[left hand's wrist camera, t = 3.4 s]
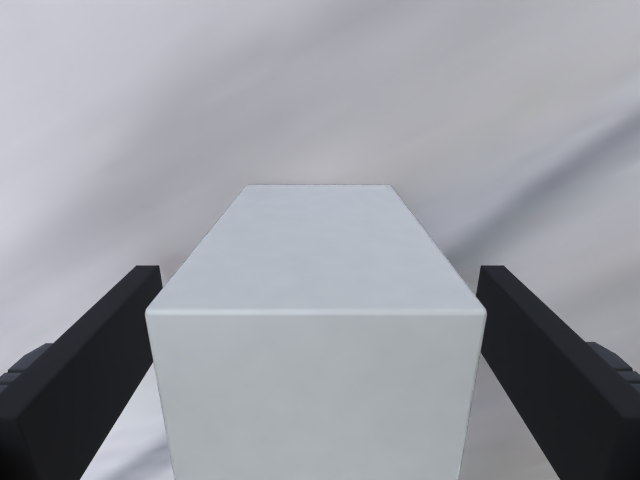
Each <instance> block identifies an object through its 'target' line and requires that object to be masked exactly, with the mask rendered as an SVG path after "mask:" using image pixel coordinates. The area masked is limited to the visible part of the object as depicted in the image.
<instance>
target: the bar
mask: <svg viewBox="0 0 640 480" xmlns="http://www.w3.org/2000/svg"><path fill="white" fill-rule="evenodd" d="M486 317H487V312H486V309H485V308H484V306H483V305H482V304H481V302H480V301H479V300H478V298H477V297H476V296H475V294H474V293H473V292H472V291H471V289H470V288H469V287H468V285H467V284H466V283H465V281H464V280H463V279H462V278H461V276H460V275H459V274H458V272H457V271H456V270H455V268H454V267H453V266H452V265H451V263H450V262H449V261H448V259H447V258H446V257H445V255H444V254H443V253H442V252H441V250H440V249H439V248H438V246H437V245H436V244H435V242H434V241H433V240H432V239H431V237H430V236H429V235H428V233H427V232H426V231H425V229H424V228H423V227H422V226H421V224H420V223H419V222H418V220H417V219H416V218H415V216H414V215H413V214H412V213H411V211H410V210H409V209H408V207H407V206H406V205H405V203H404V202H403V201H402V200H401V198H400V197H399V196H398V194H397V193H396V192H395V190H394V189H393V188H392V187H391V186H390V185H246V186H245V188H244V189H243V190H242V191H241V193H240V194H239V195H238V196H237V198H236V199H235V200H234V201H233V202H232V204H231V205H230V206H229V207H228V209H227V210H226V211H225V212H224V214H223V215H222V216H221V217H220V218H219V220H218V221H217V222H216V223H215V225H214V226H213V227H212V228H211V230H210V231H209V232H208V233H207V235H206V236H205V237H204V238H203V239H202V241H201V242H200V243H199V244H198V246H197V247H196V248H195V249H194V251H193V252H192V253H191V254H190V255H189V257H188V258H187V259H186V260H185V262H184V263H183V264H182V265H181V267H180V268H179V269H178V270H177V271H176V273H175V274H174V275H173V276H172V278H171V279H170V280H169V281H168V283H167V284H166V285H165V286H164V287H163V289H162V290H161V291H160V292H159V294H158V295H157V296H156V297H155V299H154V300H153V301H152V302H151V304H150V305H149V306H148V307H147V308H146V311H145V318H146V323H147V329H148V334H149V340H150V346H151V351H152V357H153V362H154V368H155V373H156V379H157V384H158V390H159V395H160V401H161V406H162V412H163V417H164V423H165V428H166V434H167V439H168V445H169V450H170V456H171V461H172V467H173V472H174V478H175V480H458V479H459V473H460V467H461V462H462V456H463V450H464V444H465V439H466V433H467V427H468V421H469V415H470V410H471V404H472V398H473V392H474V386H475V381H476V375H477V369H478V363H479V357H480V352H481V346H482V340H483V334H484V329H485V323H486Z"/></svg>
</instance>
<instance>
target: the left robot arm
mask: <svg viewBox="0 0 640 480" xmlns="http://www.w3.org/2000/svg"><path fill="white" fill-rule="evenodd" d="M162 289H163V287H162V281H161V275H160V268H159V266H136V267H134V268H133V269H132V270H131V271H130V272H129V273H128V274H127V275H126V276H125V277H124V278H123V279H122V280H121V281H119V282H118V283H117V284H116V285H115V286H114V287H113V288H112V289H111V290H110V291H109V292H108V293H107V294H106V295H105V296H103V297H102V298H101V299H100V300H99V301H98V302H97V303H96V304H95V305H94V306H93V307H92V308H91V309H90V310H88V311H87V312H86V313H85V314H84V315H83V316H82V317H81V318H80V319H79V320H78V321H77V322H76V323H75V324H73V325H72V326H71V327H70V328H69V329H68V330H67V331H66V332H65V333H64V334H63V335H62V336H61V337H60V338H59V339H57V340H56V341H55V342H54V343H46V344H44V345H42V346H40V347H39V348H37V349H35V350H33V351H32V352H30V353H28V354H26V355H24V356H23V357H22V358H21V359H20V360H19V361H18V362H16V363H15V364H14V365H13V366H12V367H11V368H10V369H9V370H8V373H4V374H3V375H2V376H1V377H0V480H80V478H81V477H82V475H83V474H84V472H85V470H86V469H87V467H88V466H89V464H90V462H91V461H92V459H93V458H94V456H95V454H96V453H97V451H98V450H99V448H100V446H101V445H102V443H103V442H104V440H105V438H106V437H107V435H108V433H109V432H110V430H111V429H112V427H113V425H114V424H115V422H116V421H117V419H118V417H119V416H120V414H121V413H122V411H123V409H124V408H125V406H126V405H127V403H128V401H129V400H130V398H131V397H132V395H133V393H134V392H135V390H136V389H137V387H138V385H139V384H140V382H141V381H142V379H143V377H144V376H145V374H146V373H147V371H148V369H149V368H150V366H151V364H152V363H153V357H152V351H151V346H150V340H149V334H148V329H147V323H146V318H145V311H146V308H147V307H148V306H149V305H150V304H151V302H152V301H153V300H154V299H155V297H156V296H157V295H158V294H159V292H160V291H161V290H162ZM476 297H477V298H478V300H479V301H480V302H481V304H482V305H483V306H484V308H485V309H486V312H487V317H486V323H485V329H484V334H483V340H482V346H481V353H482V355H483V356H484V358H485V360H486V361H487V363H488V364H489V366H490V368H491V369H492V371H493V372H494V374H495V376H496V377H497V379H498V381H499V382H500V384H501V385H502V387H503V389H504V390H505V392H506V393H507V395H508V397H509V398H510V400H511V401H512V403H513V405H514V406H515V408H516V409H517V411H518V413H519V414H520V416H521V417H522V419H523V421H524V422H525V424H526V425H527V427H528V429H529V430H530V432H531V433H532V435H533V437H534V438H535V440H536V441H537V443H538V445H539V446H540V448H541V450H542V451H543V453H544V454H545V456H546V458H547V459H548V461H549V462H550V464H551V466H552V467H553V469H554V470H555V472H556V474H557V475H558V477H559V478H560V480H640V375H639V374H638V373H637V372H636V371H633V370H632V368H631V367H630V366H629V365H628V364H627V363H626V362H624V361H623V360H622V359H621V358H620V357H619V356H618V355H616V354H615V353H613V352H611V351H610V350H608V349H606V348H604V347H602V346H601V345H599V344H597V343H595V342H585V341H584V340H583V339H581V338H580V337H579V336H578V335H577V334H576V333H575V332H574V331H573V330H572V329H571V328H570V327H569V326H568V325H567V324H565V323H564V322H563V321H562V320H561V319H560V318H559V317H558V316H557V315H556V314H555V313H554V312H553V311H552V310H550V309H549V308H548V307H547V306H546V305H545V304H544V303H543V302H542V301H541V300H540V299H539V298H538V297H537V296H535V295H534V294H533V293H532V292H531V291H530V290H529V289H528V288H527V287H526V286H525V285H524V284H523V283H522V282H521V281H519V280H518V279H517V278H516V277H515V276H514V275H513V274H512V273H511V272H510V271H509V270H508V269H507V268H506V267H504V266H481V268H480V275H479V281H478V287H477V294H476Z"/></svg>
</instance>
